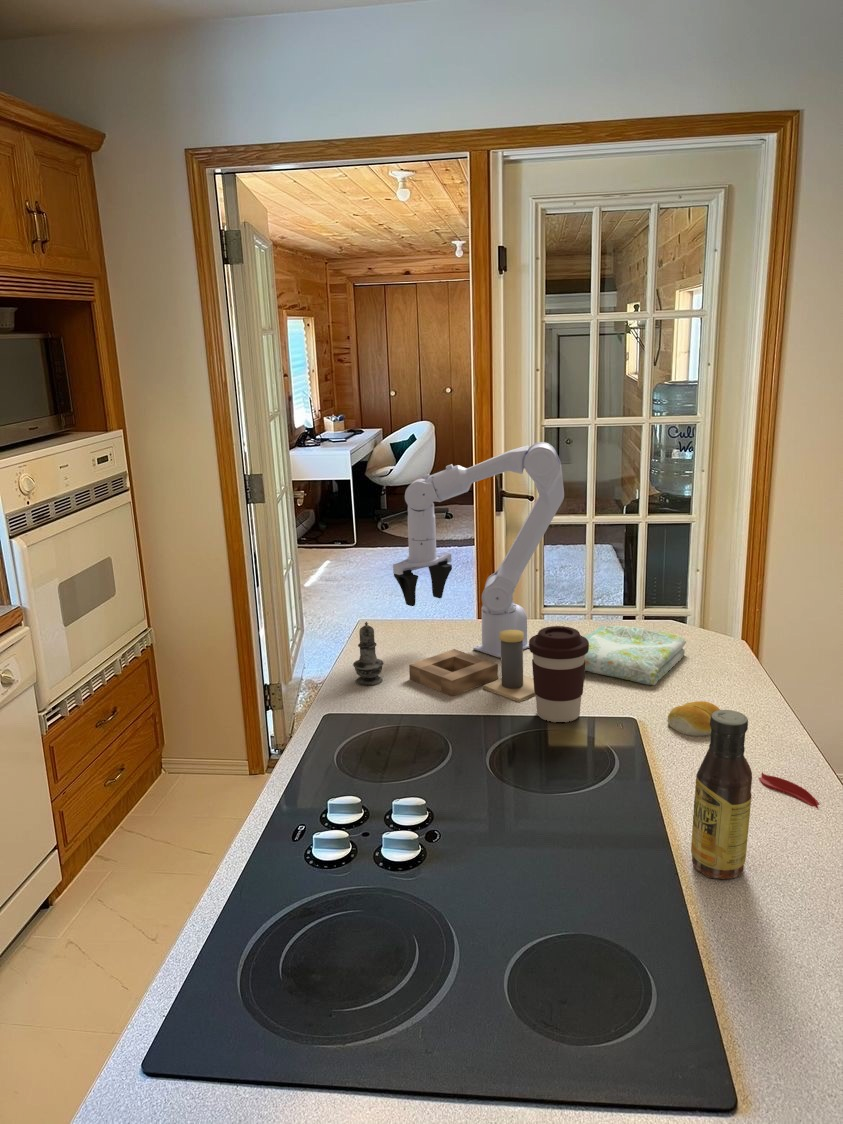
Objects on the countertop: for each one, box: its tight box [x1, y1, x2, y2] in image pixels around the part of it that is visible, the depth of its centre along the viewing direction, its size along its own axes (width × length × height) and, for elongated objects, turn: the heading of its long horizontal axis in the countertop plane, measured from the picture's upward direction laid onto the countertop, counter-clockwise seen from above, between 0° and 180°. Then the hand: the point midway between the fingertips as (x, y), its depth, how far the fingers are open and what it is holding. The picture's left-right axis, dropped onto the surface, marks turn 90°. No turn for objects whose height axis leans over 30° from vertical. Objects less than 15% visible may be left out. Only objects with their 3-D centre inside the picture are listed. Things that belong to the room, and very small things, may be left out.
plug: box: [500, 630, 524, 689], centre depth 158 cm, size 4×4×10 cm
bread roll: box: [666, 700, 721, 737], centre depth 141 cm, size 8×9×4 cm
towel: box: [583, 625, 687, 686], centre depth 170 cm, size 18×21×5 cm
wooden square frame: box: [408, 648, 499, 697], centre depth 164 cm, size 12×12×3 cm
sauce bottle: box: [690, 709, 753, 880], centre depth 100 cm, size 6×6×20 cm
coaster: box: [482, 674, 536, 703], centre depth 159 cm, size 9×9×1 cm
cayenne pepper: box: [758, 772, 820, 810], centre depth 119 cm, size 12×5×2 cm, turn 10°
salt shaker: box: [352, 621, 385, 687], centre depth 163 cm, size 6×6×12 cm
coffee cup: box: [528, 625, 589, 723], centre depth 145 cm, size 10×10×15 cm
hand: (424, 601), depth 179 cm, fingers open, 7 cm apart
